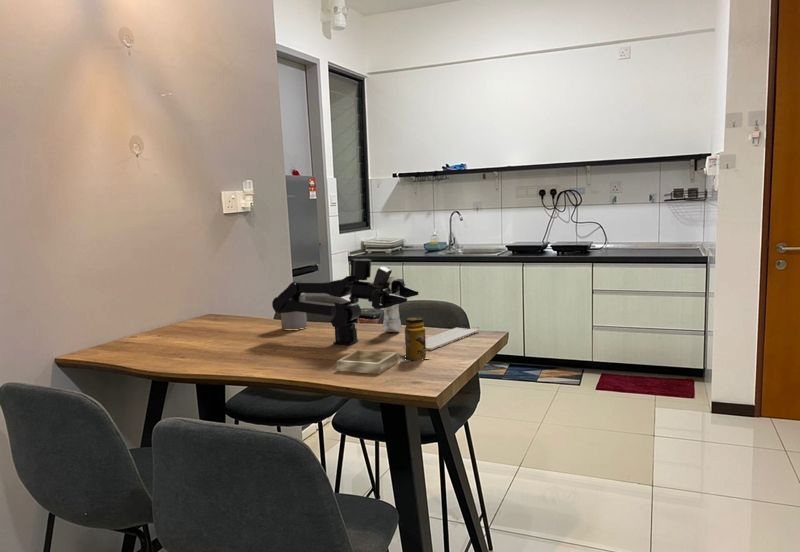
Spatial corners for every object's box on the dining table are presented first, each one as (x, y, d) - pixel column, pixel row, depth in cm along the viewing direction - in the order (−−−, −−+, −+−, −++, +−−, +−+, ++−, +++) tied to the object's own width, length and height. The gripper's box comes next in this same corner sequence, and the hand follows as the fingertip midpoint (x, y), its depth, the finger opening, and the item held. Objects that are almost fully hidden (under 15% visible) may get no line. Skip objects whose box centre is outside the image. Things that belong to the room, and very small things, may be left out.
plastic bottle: (404, 331, 216) (402, 276, 214) (394, 334, 210) (392, 279, 208) (390, 329, 219) (387, 276, 217) (379, 333, 214) (377, 278, 211)
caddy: (337, 370, 165) (336, 360, 165) (358, 359, 177) (357, 350, 177) (379, 374, 160) (379, 363, 160) (398, 362, 172) (397, 352, 172)
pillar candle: (286, 326, 235) (283, 288, 233) (310, 325, 234) (307, 288, 232) (278, 331, 226) (275, 292, 224) (302, 331, 224) (300, 291, 222)
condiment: (430, 359, 174) (428, 319, 172) (401, 362, 172) (400, 321, 171) (423, 354, 181) (422, 315, 179) (396, 356, 179) (394, 317, 178)
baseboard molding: (399, 349, 191) (431, 353, 184) (399, 340, 191) (430, 344, 184) (449, 330, 216) (479, 334, 209) (449, 323, 216) (478, 325, 209)
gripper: (355, 272, 185) (401, 277, 178) (381, 261, 201) (424, 266, 195) (355, 307, 187) (400, 313, 181) (381, 293, 204) (423, 299, 198)
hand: (412, 296), depth 189 cm, fingers open, 9 cm apart
